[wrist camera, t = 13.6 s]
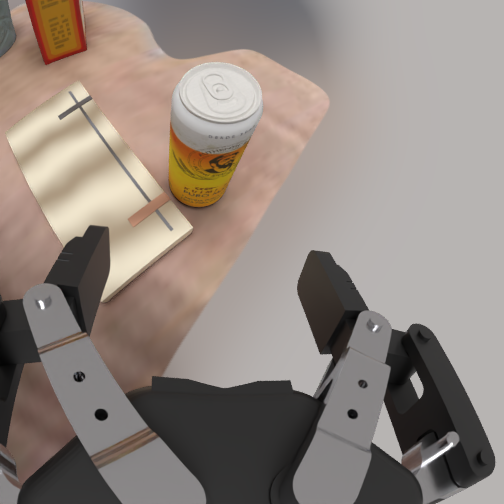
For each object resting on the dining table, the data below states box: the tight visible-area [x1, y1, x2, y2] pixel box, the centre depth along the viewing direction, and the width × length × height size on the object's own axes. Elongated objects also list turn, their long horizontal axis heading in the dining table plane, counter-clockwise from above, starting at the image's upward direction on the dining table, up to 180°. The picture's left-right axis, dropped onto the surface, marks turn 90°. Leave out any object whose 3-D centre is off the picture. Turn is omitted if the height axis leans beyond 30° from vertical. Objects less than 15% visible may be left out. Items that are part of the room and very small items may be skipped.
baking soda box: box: [25, 0, 87, 65], centre depth 23 cm, size 10×6×16 cm
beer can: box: [169, 62, 263, 207], centre depth 24 cm, size 6×6×15 cm
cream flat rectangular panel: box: [5, 80, 193, 303], centre depth 27 cm, size 24×11×2 cm, turn 42°
